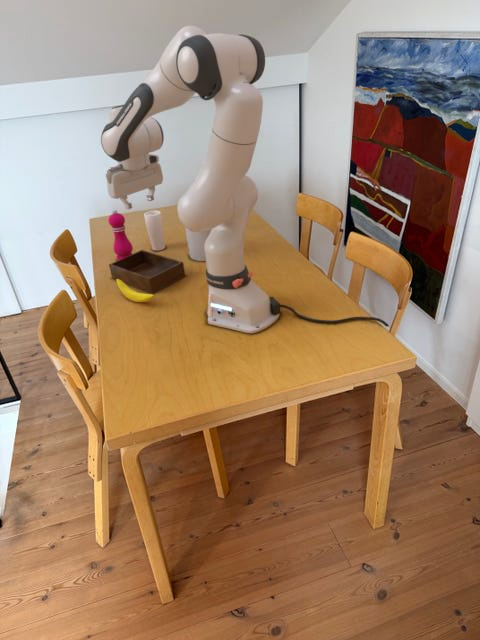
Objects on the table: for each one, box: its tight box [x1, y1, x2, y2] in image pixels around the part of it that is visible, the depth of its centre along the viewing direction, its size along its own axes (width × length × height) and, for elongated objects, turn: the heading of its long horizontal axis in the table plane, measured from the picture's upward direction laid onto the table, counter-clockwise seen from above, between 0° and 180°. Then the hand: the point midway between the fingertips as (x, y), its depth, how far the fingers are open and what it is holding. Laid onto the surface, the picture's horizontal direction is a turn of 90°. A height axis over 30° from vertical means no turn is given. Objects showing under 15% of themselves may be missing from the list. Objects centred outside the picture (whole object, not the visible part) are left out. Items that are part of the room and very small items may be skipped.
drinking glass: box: [143, 210, 166, 252], centre depth 182 cm, size 7×7×15 cm
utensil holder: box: [184, 226, 212, 262], centre depth 173 cm, size 15×15×18 cm
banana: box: [114, 277, 155, 303], centre depth 147 cm, size 3×19×6 cm, turn 50°
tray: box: [108, 249, 186, 295], centre depth 163 cm, size 22×15×6 cm
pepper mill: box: [108, 209, 134, 261], centre depth 175 cm, size 7×7×20 cm
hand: (140, 204), depth 150 cm, fingers open, 8 cm apart
